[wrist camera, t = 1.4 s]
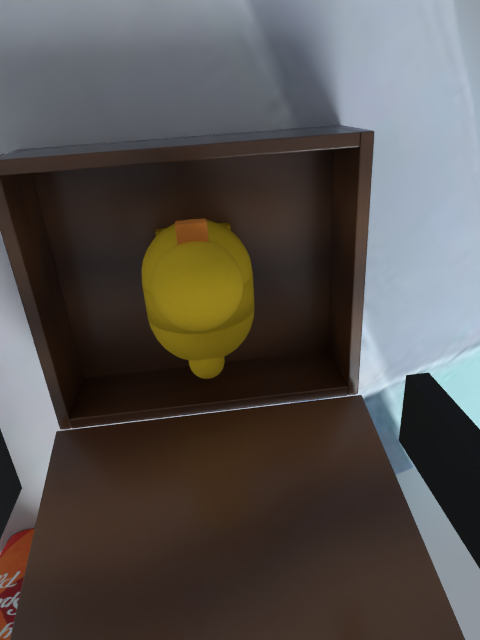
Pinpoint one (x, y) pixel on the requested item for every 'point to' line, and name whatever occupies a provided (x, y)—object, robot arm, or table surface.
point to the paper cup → (12, 578)
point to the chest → (161, 212)
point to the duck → (198, 292)
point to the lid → (230, 533)
